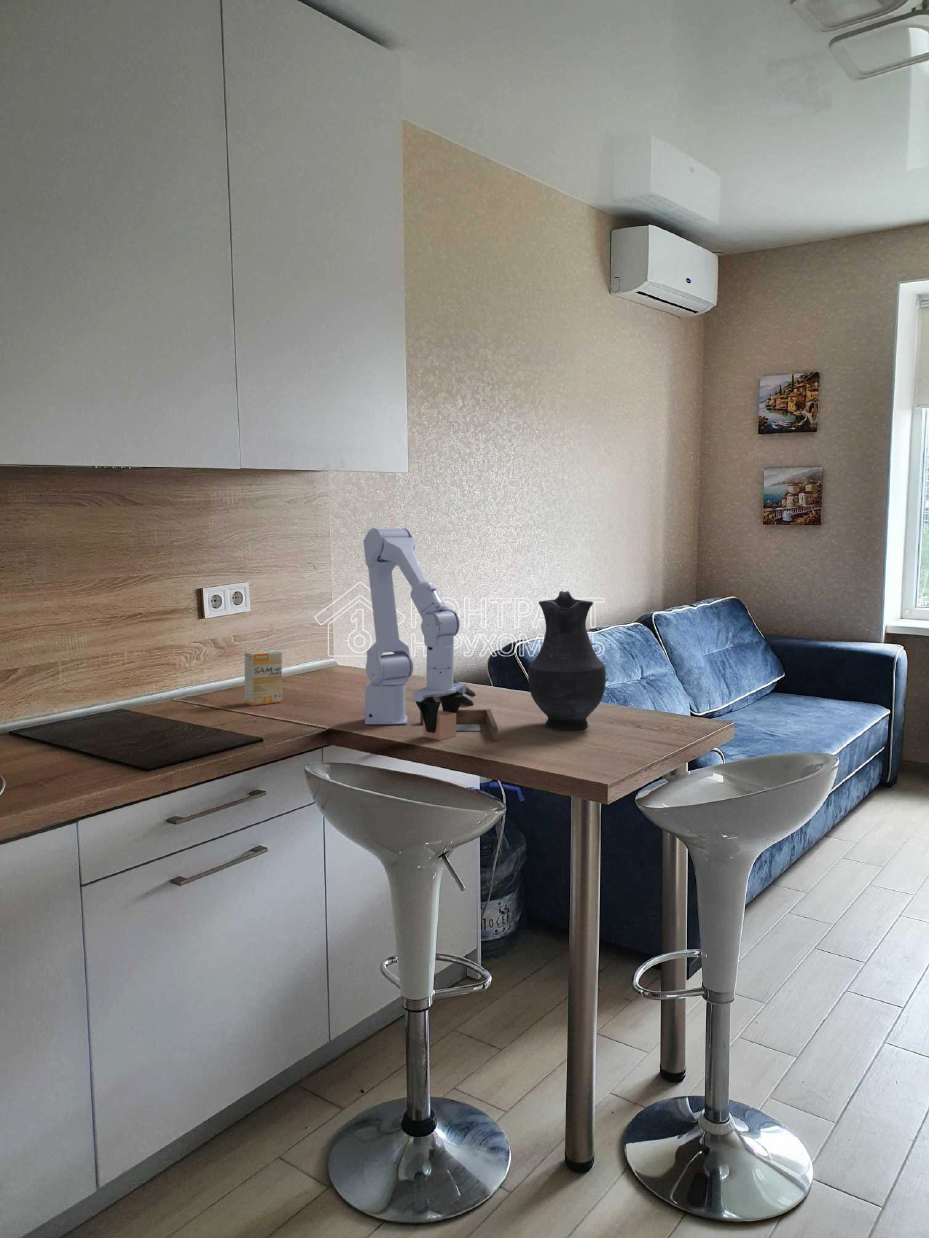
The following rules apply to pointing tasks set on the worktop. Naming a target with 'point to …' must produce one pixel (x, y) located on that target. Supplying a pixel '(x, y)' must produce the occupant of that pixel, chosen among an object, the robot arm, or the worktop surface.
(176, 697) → the worktop surface
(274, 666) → the supplement box
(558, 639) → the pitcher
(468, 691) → the can opener
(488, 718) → the arena
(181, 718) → the worktop surface
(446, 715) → the cube
